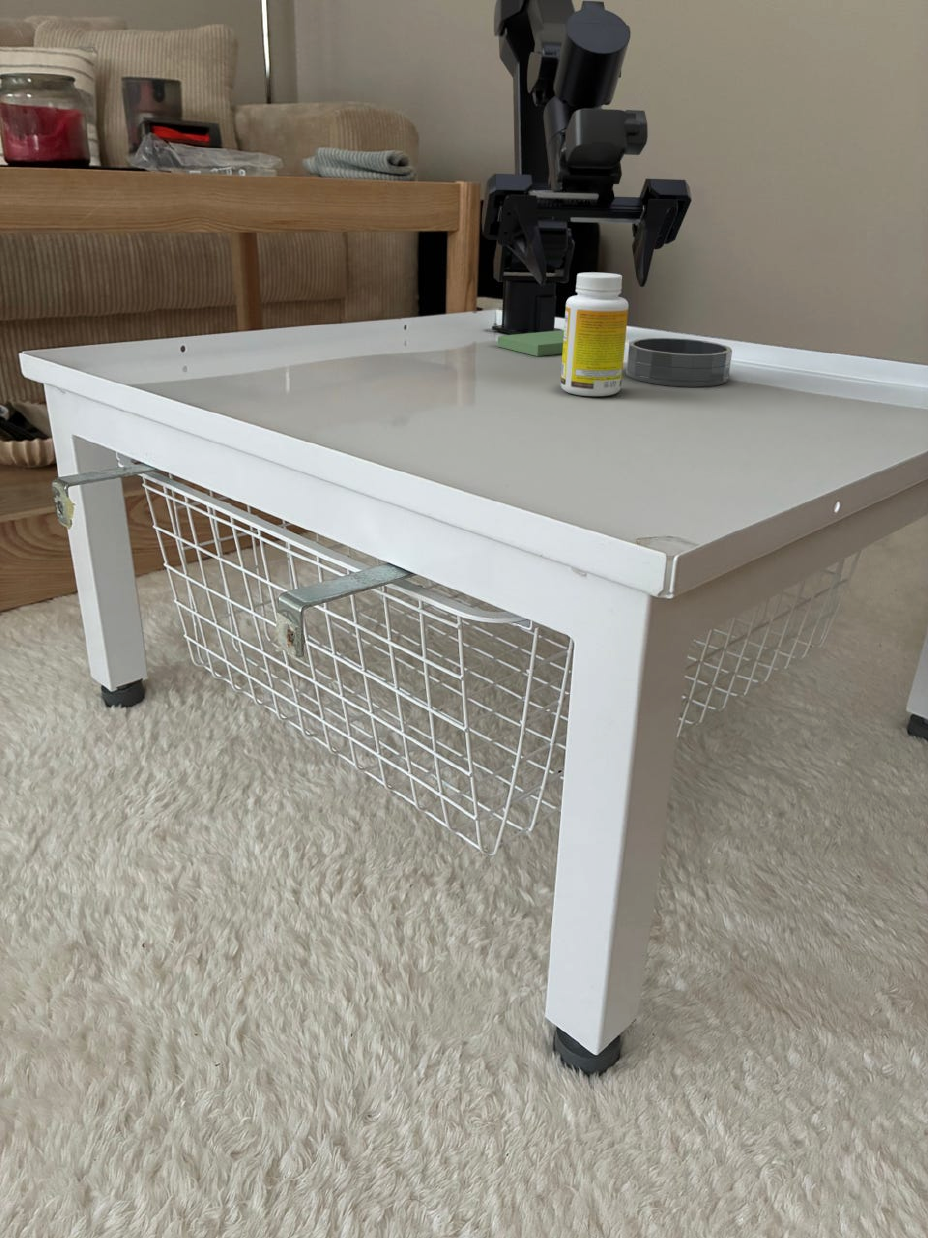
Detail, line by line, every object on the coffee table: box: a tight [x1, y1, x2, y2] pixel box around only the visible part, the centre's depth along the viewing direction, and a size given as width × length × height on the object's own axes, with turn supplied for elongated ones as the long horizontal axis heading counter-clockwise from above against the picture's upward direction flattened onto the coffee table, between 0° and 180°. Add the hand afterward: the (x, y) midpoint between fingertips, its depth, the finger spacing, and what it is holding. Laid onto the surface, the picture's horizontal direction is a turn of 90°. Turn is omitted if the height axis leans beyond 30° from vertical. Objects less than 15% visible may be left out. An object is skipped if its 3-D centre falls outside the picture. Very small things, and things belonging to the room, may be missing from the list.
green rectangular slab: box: [497, 329, 564, 357], centre depth 109 cm, size 7×10×1 cm
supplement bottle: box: [560, 271, 629, 397], centre depth 85 cm, size 6×6×10 cm
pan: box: [625, 337, 733, 388], centre depth 95 cm, size 10×10×3 cm
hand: (593, 282), depth 85 cm, fingers open, 9 cm apart
